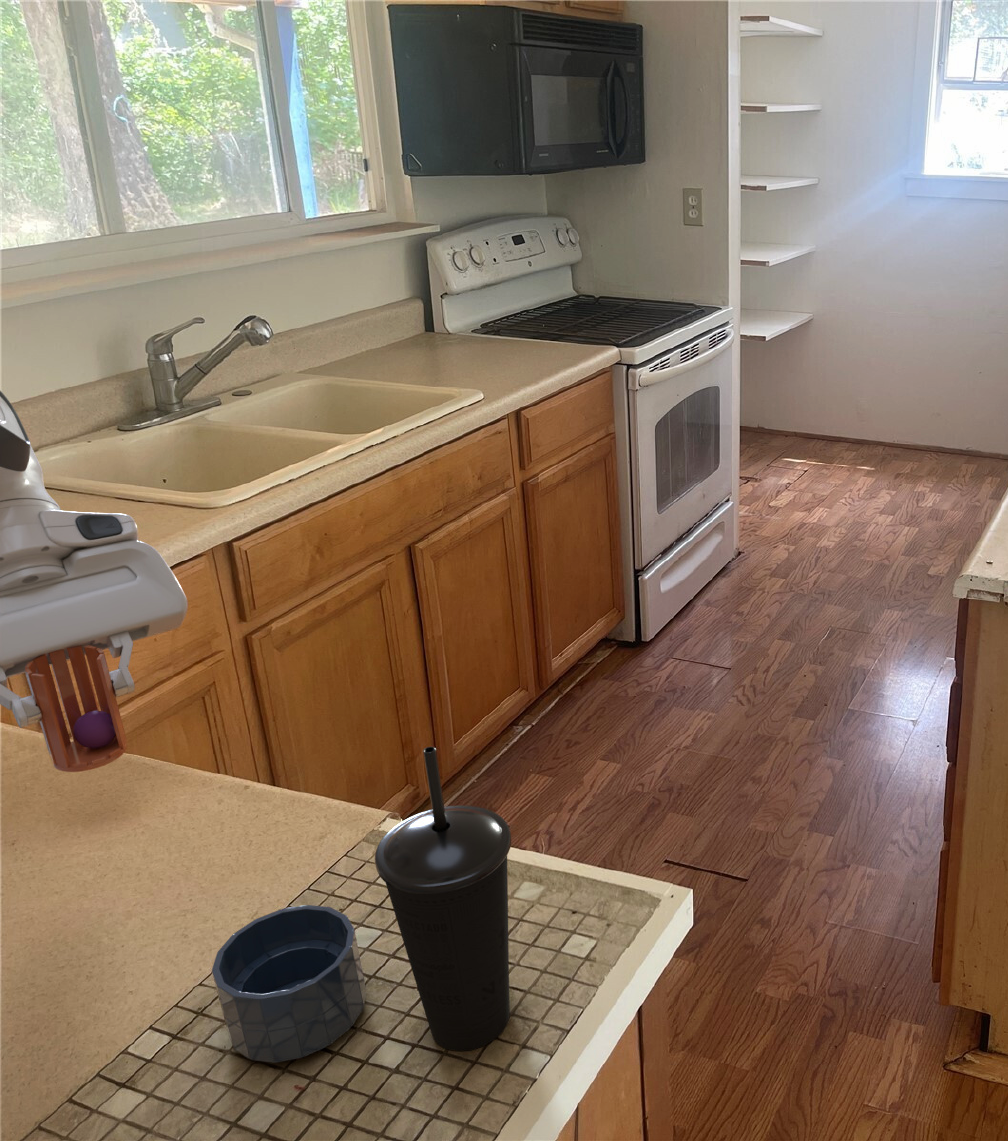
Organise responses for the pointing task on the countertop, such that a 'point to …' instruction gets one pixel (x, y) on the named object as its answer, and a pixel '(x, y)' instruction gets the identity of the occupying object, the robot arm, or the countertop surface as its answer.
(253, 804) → the countertop surface
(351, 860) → the countertop surface
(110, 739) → the ball
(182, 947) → the countertop surface
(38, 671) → the slatted pencil cup
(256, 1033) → the bowl
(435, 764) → the drinking cup
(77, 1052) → the countertop surface
